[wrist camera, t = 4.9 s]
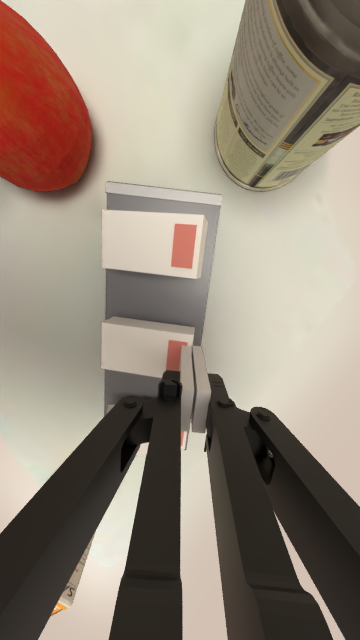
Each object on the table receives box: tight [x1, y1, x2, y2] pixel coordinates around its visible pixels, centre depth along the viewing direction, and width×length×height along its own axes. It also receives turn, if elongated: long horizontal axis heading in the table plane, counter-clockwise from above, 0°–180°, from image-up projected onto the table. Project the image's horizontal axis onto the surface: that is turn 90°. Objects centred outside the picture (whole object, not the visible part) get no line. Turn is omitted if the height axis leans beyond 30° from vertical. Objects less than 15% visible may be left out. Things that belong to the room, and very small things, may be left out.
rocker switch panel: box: [104, 181, 223, 450], centre depth 23 cm, size 10×28×5 cm, turn 174°
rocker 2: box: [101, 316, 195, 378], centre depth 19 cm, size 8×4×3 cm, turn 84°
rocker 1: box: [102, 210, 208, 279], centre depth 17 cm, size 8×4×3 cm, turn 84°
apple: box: [0, 0, 92, 191], centre depth 15 cm, size 10×10×10 cm
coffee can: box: [214, 0, 360, 192], centre depth 13 cm, size 10×10×14 cm
